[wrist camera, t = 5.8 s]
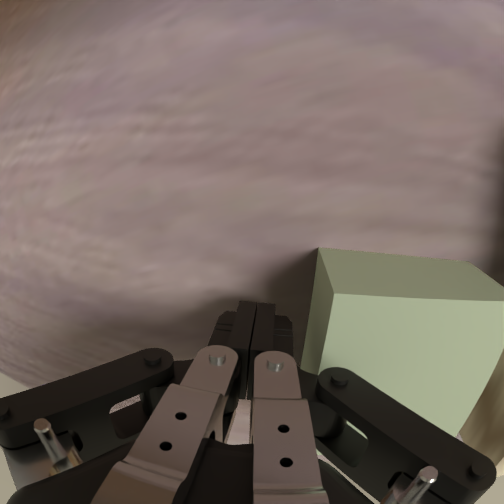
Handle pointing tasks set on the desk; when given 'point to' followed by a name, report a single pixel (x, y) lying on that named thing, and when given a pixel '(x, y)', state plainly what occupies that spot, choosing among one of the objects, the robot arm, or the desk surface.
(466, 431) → the stop board
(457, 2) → the desk surface
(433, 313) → the sage block
